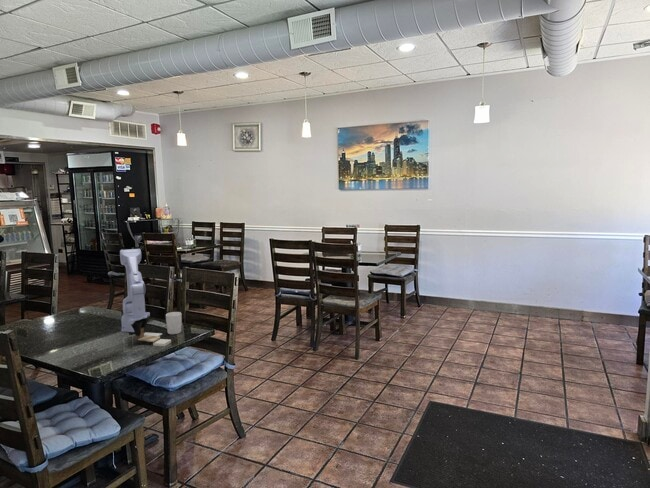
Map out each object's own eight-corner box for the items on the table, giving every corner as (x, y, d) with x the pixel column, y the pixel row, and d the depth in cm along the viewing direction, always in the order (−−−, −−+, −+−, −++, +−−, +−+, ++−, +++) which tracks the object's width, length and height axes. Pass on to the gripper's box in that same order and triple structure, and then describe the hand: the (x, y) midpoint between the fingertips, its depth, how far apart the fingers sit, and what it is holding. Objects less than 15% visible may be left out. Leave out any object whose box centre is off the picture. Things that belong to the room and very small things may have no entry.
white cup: (169, 335, 220) (168, 316, 219) (164, 332, 227) (163, 313, 225) (184, 332, 225) (183, 314, 224) (179, 329, 231) (178, 311, 230)
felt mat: (135, 338, 217) (135, 337, 217) (145, 333, 225) (145, 332, 225) (153, 339, 215) (153, 338, 215) (162, 334, 223) (162, 333, 223)
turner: (133, 339, 208) (133, 329, 207) (141, 335, 214) (140, 325, 213) (153, 341, 206) (153, 331, 206) (160, 337, 212) (160, 328, 211)
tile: (153, 343, 206) (164, 343, 205) (160, 338, 212) (171, 339, 211) (153, 346, 206) (164, 347, 205) (160, 342, 212) (171, 342, 211)
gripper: (136, 311, 201) (138, 339, 203) (154, 304, 215) (156, 330, 217) (123, 311, 202) (125, 338, 204) (142, 303, 217) (143, 329, 218)
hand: (140, 334), depth 210 cm, fingers closed on turner, 3 cm apart
